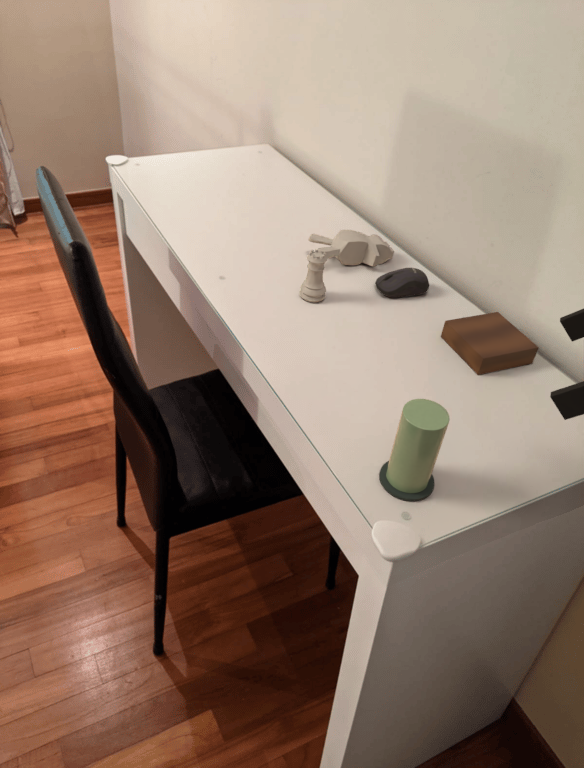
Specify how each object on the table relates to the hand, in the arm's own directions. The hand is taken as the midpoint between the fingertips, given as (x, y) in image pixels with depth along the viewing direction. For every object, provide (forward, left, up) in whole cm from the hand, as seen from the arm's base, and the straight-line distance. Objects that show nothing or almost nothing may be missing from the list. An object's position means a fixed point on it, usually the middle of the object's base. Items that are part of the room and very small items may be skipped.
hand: (561, 364), depth 59 cm
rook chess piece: (+46, +4, -19) cm, 50 cm away
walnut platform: (+25, -16, -19) cm, 35 cm away
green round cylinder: (+5, +10, -19) cm, 22 cm away
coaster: (+5, +10, -19) cm, 22 cm away
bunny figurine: (+56, -8, -19) cm, 60 cm away
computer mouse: (+44, -12, -19) cm, 49 cm away
